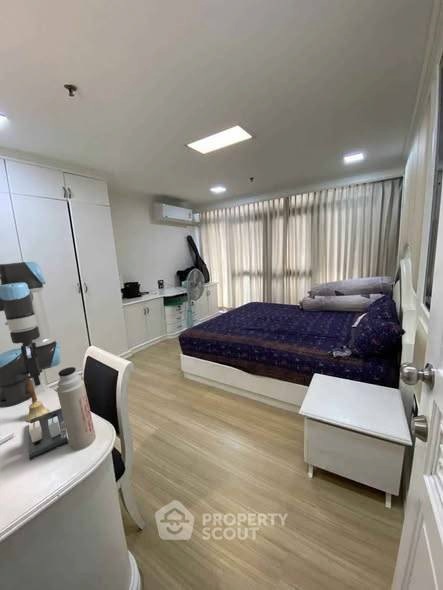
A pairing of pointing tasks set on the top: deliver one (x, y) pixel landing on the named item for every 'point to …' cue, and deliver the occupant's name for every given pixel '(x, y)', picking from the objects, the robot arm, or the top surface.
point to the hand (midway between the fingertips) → (40, 392)
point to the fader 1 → (35, 431)
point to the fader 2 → (54, 427)
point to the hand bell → (35, 405)
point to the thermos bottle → (75, 409)
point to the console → (47, 435)
